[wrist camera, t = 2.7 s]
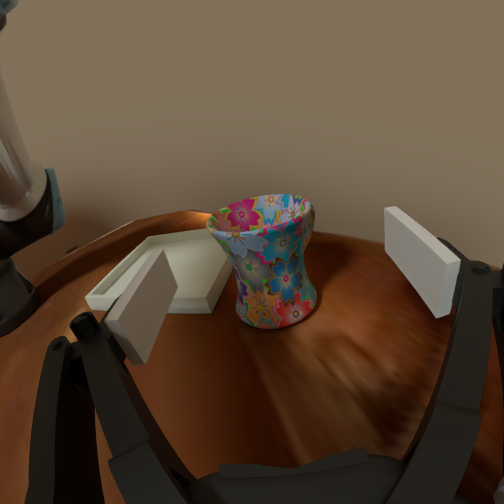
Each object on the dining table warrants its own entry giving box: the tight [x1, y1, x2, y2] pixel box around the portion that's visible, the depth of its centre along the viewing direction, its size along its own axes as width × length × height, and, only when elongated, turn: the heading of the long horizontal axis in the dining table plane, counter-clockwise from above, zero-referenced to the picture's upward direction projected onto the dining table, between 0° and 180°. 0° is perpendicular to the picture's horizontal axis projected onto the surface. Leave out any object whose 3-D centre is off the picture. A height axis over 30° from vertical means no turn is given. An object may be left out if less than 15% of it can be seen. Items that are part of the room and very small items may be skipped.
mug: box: [206, 194, 317, 329], centre depth 27 cm, size 12×9×11 cm
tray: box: [85, 228, 233, 313], centre depth 41 cm, size 20×20×2 cm
